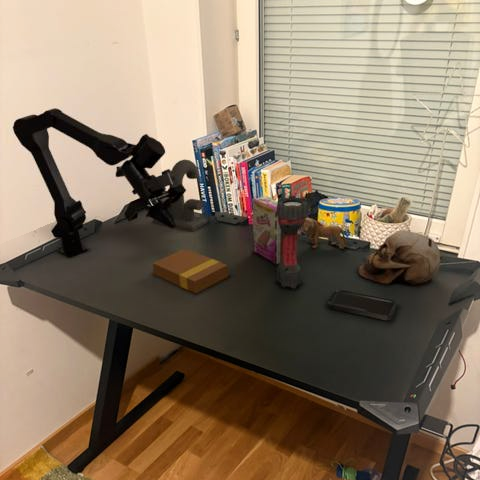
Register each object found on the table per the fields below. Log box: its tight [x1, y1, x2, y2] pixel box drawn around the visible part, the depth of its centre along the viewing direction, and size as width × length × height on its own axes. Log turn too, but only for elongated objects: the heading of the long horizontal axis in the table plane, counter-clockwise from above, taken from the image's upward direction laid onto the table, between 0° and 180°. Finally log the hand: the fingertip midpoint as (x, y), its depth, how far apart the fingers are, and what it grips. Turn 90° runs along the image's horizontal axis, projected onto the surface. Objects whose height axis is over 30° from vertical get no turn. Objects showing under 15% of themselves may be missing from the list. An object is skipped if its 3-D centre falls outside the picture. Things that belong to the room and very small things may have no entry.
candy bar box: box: [251, 195, 281, 265], centre depth 137 cm, size 11×5×16 cm, turn 35°
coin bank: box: [358, 229, 441, 286], centre depth 125 cm, size 16×17×13 cm
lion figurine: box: [300, 217, 350, 250], centre depth 144 cm, size 15×5×9 cm, turn 87°
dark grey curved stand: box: [152, 159, 208, 232], centre depth 164 cm, size 18×16×20 cm
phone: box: [327, 289, 397, 321], centre depth 116 cm, size 8×1×15 cm
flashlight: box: [276, 194, 309, 290], centre depth 121 cm, size 8×8×23 cm
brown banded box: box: [152, 248, 229, 294], centre depth 133 cm, size 4×12×17 cm
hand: (174, 227), depth 130 cm, fingers closed
